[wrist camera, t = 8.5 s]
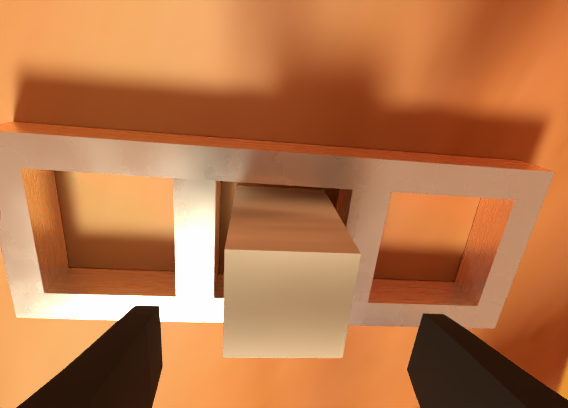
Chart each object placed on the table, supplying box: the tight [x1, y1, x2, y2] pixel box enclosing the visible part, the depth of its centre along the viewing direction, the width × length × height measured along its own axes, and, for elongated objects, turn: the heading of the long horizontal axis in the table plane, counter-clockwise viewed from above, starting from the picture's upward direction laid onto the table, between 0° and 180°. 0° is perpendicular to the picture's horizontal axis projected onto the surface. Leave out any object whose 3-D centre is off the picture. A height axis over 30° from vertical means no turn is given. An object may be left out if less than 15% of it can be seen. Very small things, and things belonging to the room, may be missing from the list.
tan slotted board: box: [0, 122, 555, 329], centre depth 15 cm, size 8×22×2 cm, turn 85°
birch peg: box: [223, 185, 361, 358], centre depth 13 cm, size 4×4×6 cm
